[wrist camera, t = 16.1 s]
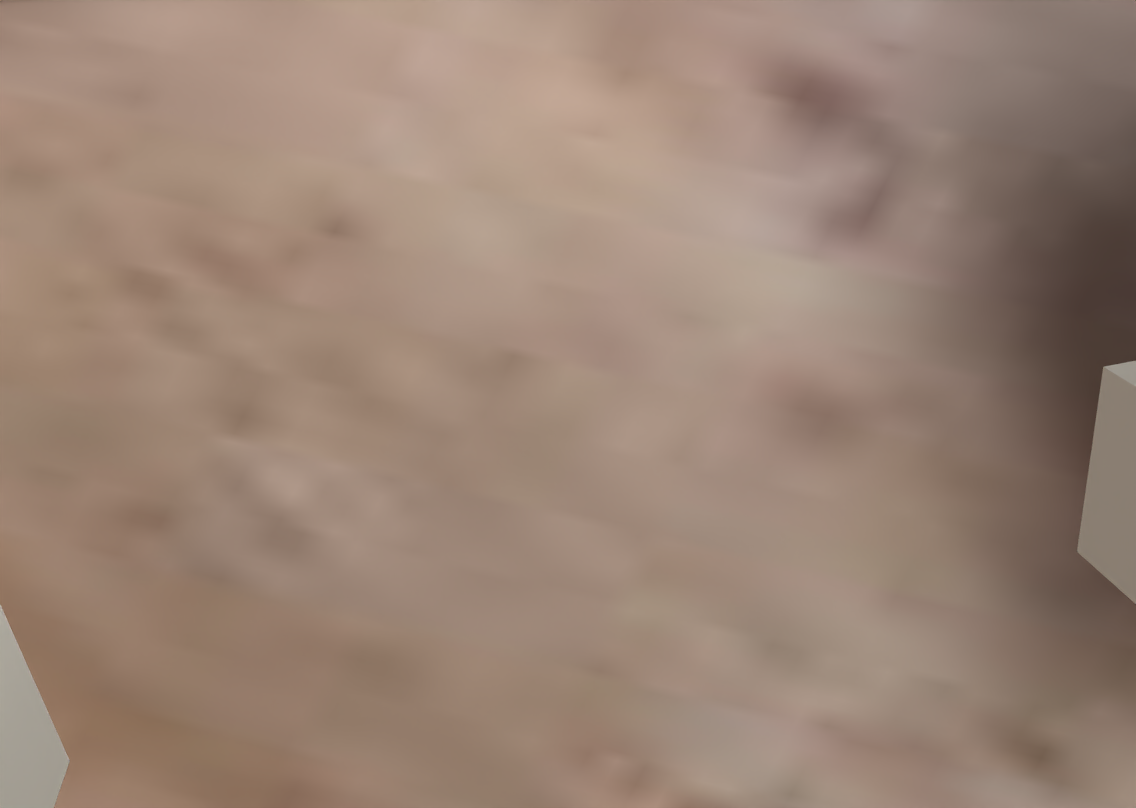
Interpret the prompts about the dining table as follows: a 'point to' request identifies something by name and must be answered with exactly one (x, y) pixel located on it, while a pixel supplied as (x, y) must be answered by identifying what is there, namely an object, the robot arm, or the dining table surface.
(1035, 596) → the dining table surface
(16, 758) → the robot arm
